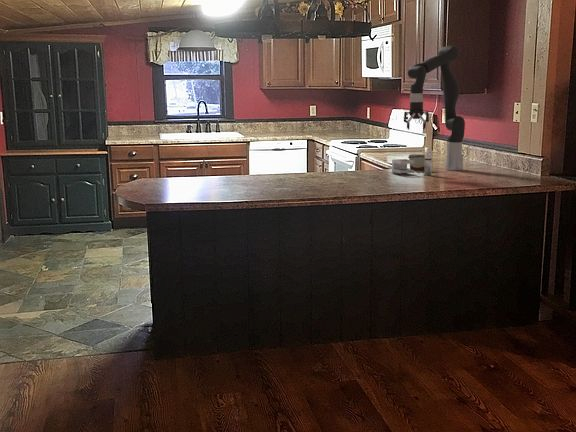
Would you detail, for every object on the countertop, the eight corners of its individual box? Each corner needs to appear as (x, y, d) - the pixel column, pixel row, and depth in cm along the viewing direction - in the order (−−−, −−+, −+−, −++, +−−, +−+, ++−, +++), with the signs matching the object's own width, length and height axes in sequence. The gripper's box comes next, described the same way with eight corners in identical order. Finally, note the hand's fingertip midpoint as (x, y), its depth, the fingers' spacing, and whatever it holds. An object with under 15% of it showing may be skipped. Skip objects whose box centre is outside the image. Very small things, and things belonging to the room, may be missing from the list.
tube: (429, 174, 383) (429, 147, 379) (432, 175, 379) (433, 148, 376) (422, 175, 381) (423, 147, 378) (426, 175, 377) (427, 148, 374)
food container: (427, 170, 404) (427, 154, 402) (428, 171, 398) (428, 155, 396) (407, 170, 405) (407, 154, 403) (407, 171, 399) (408, 155, 397)
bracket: (403, 172, 392) (404, 158, 391) (414, 175, 380) (414, 160, 378) (390, 173, 389) (390, 159, 388) (400, 176, 377) (400, 161, 376)
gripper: (428, 100, 378) (427, 128, 381) (403, 101, 380) (403, 129, 383) (429, 101, 371) (429, 129, 374) (404, 101, 373) (404, 130, 376)
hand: (416, 129), depth 378 cm, fingers open, 8 cm apart
